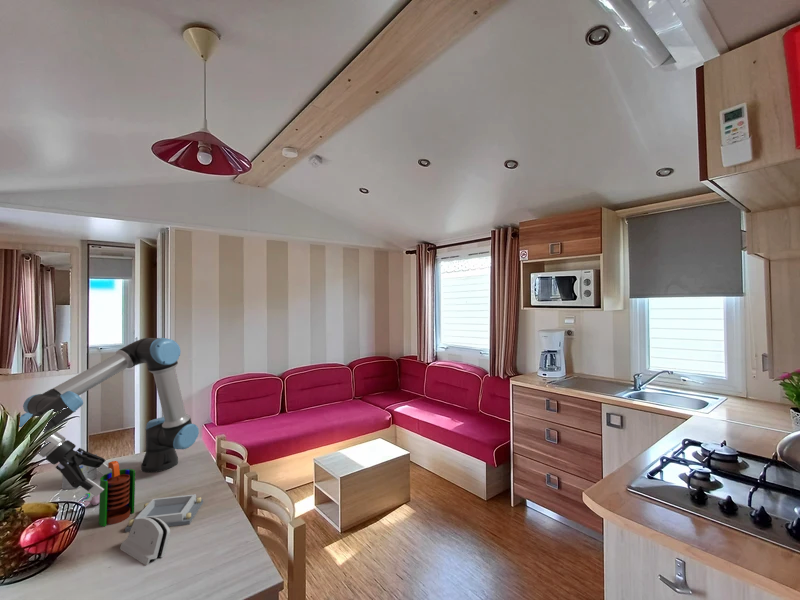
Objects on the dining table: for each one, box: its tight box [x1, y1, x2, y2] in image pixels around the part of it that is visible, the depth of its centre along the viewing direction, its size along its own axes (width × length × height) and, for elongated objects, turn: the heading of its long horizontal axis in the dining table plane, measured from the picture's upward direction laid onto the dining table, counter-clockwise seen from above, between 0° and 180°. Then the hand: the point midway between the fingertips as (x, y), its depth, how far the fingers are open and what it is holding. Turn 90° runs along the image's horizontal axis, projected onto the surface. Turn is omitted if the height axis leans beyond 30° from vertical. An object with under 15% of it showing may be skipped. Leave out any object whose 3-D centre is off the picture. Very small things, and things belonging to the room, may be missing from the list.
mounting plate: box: [124, 493, 204, 533], centre depth 132 cm, size 15×20×4 cm
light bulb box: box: [61, 453, 98, 490], centre depth 159 cm, size 11×7×11 cm, turn 2°
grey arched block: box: [119, 517, 171, 567], centre depth 113 cm, size 17×5×10 cm, turn 61°
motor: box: [98, 460, 136, 528], centre depth 131 cm, size 10×9×20 cm
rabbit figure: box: [77, 492, 100, 508], centre depth 140 cm, size 6×6×15 cm
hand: (108, 484), depth 130 cm, fingers open, 13 cm apart
